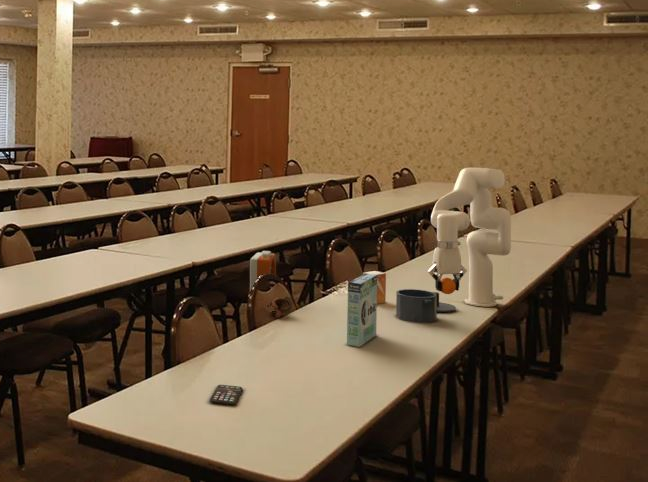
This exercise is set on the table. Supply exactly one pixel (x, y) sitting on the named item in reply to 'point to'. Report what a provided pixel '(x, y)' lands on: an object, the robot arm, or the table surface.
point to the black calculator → (226, 394)
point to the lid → (443, 305)
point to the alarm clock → (262, 265)
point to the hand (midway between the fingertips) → (447, 289)
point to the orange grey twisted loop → (278, 308)
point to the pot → (416, 305)
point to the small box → (380, 286)
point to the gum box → (361, 309)
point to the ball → (448, 286)
